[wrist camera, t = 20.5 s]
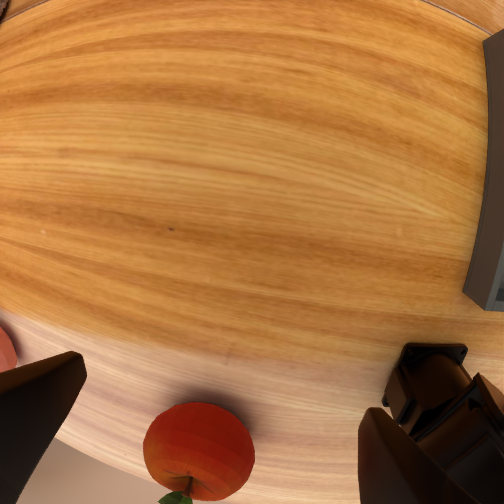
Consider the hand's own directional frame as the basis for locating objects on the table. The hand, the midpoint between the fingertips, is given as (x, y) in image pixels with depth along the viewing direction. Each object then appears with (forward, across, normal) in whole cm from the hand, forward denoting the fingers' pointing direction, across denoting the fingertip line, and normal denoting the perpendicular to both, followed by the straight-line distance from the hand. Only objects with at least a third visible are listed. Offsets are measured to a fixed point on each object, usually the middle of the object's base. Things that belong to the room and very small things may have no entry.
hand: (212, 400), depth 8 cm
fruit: (+13, +3, +16) cm, 21 cm away
